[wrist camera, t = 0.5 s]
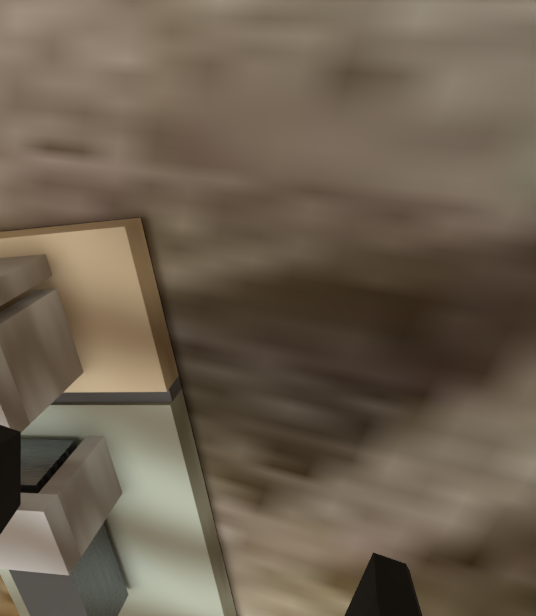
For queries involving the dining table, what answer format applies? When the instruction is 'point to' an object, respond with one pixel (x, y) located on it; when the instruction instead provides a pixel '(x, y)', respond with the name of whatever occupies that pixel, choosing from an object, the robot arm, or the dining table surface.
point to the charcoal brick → (92, 565)
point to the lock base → (103, 420)
